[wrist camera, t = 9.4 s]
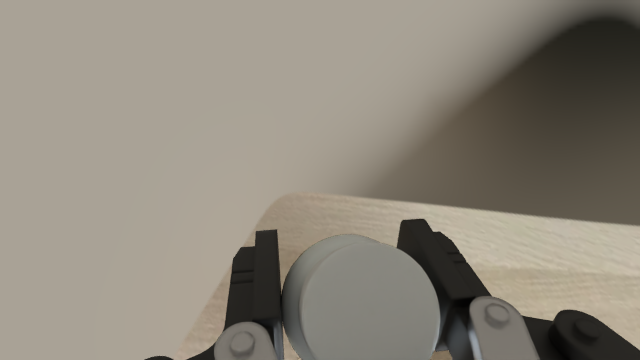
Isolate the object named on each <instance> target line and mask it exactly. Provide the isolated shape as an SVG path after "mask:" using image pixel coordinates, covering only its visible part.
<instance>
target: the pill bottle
mask: <svg viewBox="0 0 640 360" xmlns="http://www.w3.org/2000/svg"><path fill="white" fill-rule="evenodd" d="M281 310H282V322H283V326H284V329H285V332H286V335H287V337H288V340H289V342H290V343H291V345H292V347H293V349H294V350H295V351H296V353H297V354H298V355H299V357H300V358H301V359H302V360H430V358H431V356H432V354H433V352H434V350H435V347H436V343H437V340H438V336H439V328H440V309H439V303H438V298H437V295H436V292H435V289H434V287H433V285H432V283H431V281H430V279H429V278H428V276H427V274H426V273H425V271H424V270H423V269H422V267H421V266H420V265H419V264H418V263H417V262H416V261H415V260H414V259H413V258H411V257H410V256H409V255H408V254H406V253H405V252H403V251H401V250H400V249H397V248H395V247H393V246H390V245H387V244H383V243H380V242H378V241H376V240H373V239H371V238H368V237H365V236H361V235H354V234H345V235H337V236H333V237H329V238H326V239H324V240H321V241H319V242H317V243H316V244H314V245H312V246H311V247H309V248H308V249H307V250H306V251H304V252H303V253H302V254H301V255H300V256H299V258H298V259H297V260H296V261H295V263H294V264H293V265H292V266H291V268H290V269H289V272H288V274H287V276H286V278H285V282H284V285H283V289H282V294H281Z"/></svg>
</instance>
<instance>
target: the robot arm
mask: <svg viewBox="0 0 640 360" xmlns="http://www.w3.org/2000/svg"><path fill="white" fill-rule="evenodd" d="M397 249H400V250H401V251H403V252H405V253H406V254H408V255H409V256H410V257H411V258H413V259H414V260H415V261H416V262H417V263H418V264H419V265H420V266H421V267H422V269H423V270H424V271H425V273H426V274H427V276H428V278H429V279H430V281H431V283H432V285H433V287H434V289H435V292H436V295H437V298H438V303H439V309H440V328H439V336H438V340H437V343H436V347H435V351H436V352H437V351H445V350H449V352H450V354H451V356H452V360H640V350H639V349H637V348H636V347H635V346H633V345H632V344H631V343H629V342H628V341H626V340H625V339H624V338H622V337H621V336H620V335H618V334H617V333H616V332H614V331H613V330H612V329H610V328H609V327H608V326H606V325H605V324H604V323H602V322H601V321H599V320H598V319H596V318H594V317H593V316H591V315H588V314H586V313H583V312H580V311H577V310H563V311H560V312H559V313H558V314H557V315H556V317H555V319H554V321H549V320H543V319H537V318H532V317H526V316H522V315H521V314H520V313H519V312H518V311H517V310H516V309H515V308H514V307H513V306H512V305H510V304H509V303H507V302H506V301H504V300H501V299H499V298H496V297H492V296H491V294H490V293H489V292H488V290H487V289H486V287H485V286H484V285H483V283H482V282H481V281H480V279H479V278H478V276H477V275H476V274H475V272H474V271H473V269H472V268H471V267H470V265H469V264H468V263H466V260H465V258H464V257H463V255H462V254H460V252H459V250H458V249H457V247H456V246H455V244H454V243H453V242H452V240H450V239H449V238H448V237H446V236H445V235H444V234H442V233H441V232H433V231H432V229H431V228H430V226H429V225H428V223H427V222H426V220H425V219H411V220H402V222H401V224H400V230H399V237H398V243H397ZM145 360H173V359H171V358H169V357H166V356H155V357H151V358H148V359H145ZM187 360H284V348H283V326H282V310H281V281H280V263H279V249H278V235H277V230H264V231H256V238H255V246H253V247H241V248H240V249H239V251H238V252H237V254H236V255H235V257H234V258H233V264H232V274H231V280H230V288H229V296H228V304H227V312H226V320H225V326H224V330H223V332H222V334H221V335H220V336H219V338H218V340H217V341H216V342H215V343H214V344H213V345H212V346H211V347H210V348H209V349H207V350H206V351H204V352H202V353H200V354H198V355H196V356H194V357H191V358H189V359H187Z"/></svg>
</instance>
